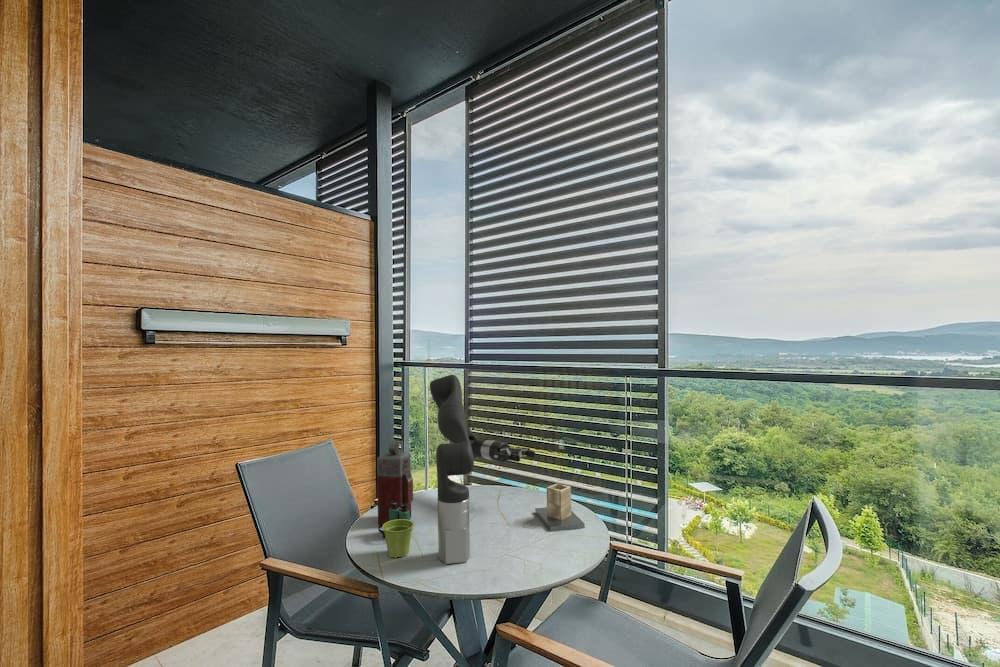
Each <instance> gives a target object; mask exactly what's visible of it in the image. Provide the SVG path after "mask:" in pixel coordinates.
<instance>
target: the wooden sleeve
mask: <svg viewBox="0 0 1000 667" xmlns="http://www.w3.org/2000/svg"><path fill="white" fill-rule="evenodd" d="M546 507H547V516H548V517H552V518H555V519H559V520H563V519H565V518H567V517H569V516H571V511H572V487H571V486H569V485H565V484H561V483H554V484H552V485H549V486H547V487H546Z"/></svg>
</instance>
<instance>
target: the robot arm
mask: <svg viewBox="0 0 1000 667" xmlns="http://www.w3.org/2000/svg"><path fill="white" fill-rule="evenodd" d="M429 390H430V394H431V398H432V399H433V402H434V403H435V405H436V407H437V408H438V411H437V425H438V429H439V431H440V433H441V434H442V435H443V437H445V438H446V439H447V440H449V441H450V442H451V443H439V444H438V446H437V447H436V452H435V460H436V463H435V464H436V475H437V476H436V477H437V533H438V534H437V536H438V537H437V538H438V539H437V542H438V543H437V544H438V546H437V547H438V550H437V552H438V560H439V561H441V562H443V563H444V564H445V565H450V564H460V563H467V562H468V560H469V559H470V556H471V547H470V546H471V543H470V542H471V541H470V540H471V539H470V538H471V536H470V530H471V529H470V492H469V491H470V490H469V488H468V487H467V486H466V485H465V484H462V483H458V482H455V481H454V480H452V479H450V478H449V476H451V477H452V476H464V475H468V474H470V473H472V472H473V469H474V466H475V465H474V464H475V459H476V458H480V459H486V460H489V461H494V462H498V463H506V462H516V463H517V462H521V458H523V457H525V458H526V457H528V458H532V459H533V458H536V456H537V455H536V451H535V450H531V448H530V447H524V446H523V447H522V446H517V447H513V446H512V447H511V446H510V445H509V444H508V443H507V442H504V441H498V440H493V439H492V440H491V439H490V440H489V439H482V438H479V439H478V437H477V436H476V435H475V434H474V433H473V431H471V428H470V427H469V425H468V422H467V419H466V413H465V409H464V405H463V395H462V393H463V392H462V391H463V390H462V385H461V382H460V380H459V378H458V377H457V376H456V375H454V374H449V375H446V376H443V377H442V376H441V377H439V378H436V379H433V380H431V381H430V382H429Z"/></svg>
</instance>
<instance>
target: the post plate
mask: <svg viewBox="0 0 1000 667" xmlns="http://www.w3.org/2000/svg"><path fill="white" fill-rule="evenodd" d="M534 510H535V514H536V515H537V517H538V516H539V518H538V519H539V520H541V522H542V523H543V524H544V525H545V527H546V528H547V530H549V532H556V531H557V532H558V531H568V530H569V531H570V530H577V529H585V527H586V526H585V522H584V521H582V520H581V518H580V517H579V516H578V515H577V514H576V513H574V511H573V510H571V516H569V517H567V518H565V519H563V520H559V519H555V518H552V517H548V516H547V506H546V507H537V508H534Z"/></svg>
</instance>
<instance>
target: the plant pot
mask: <svg viewBox="0 0 1000 667" xmlns="http://www.w3.org/2000/svg"><path fill="white" fill-rule="evenodd" d="M414 527H415V523H414V522H413V521H412V520H411V519H410V520H407V519H397V520H391V521H388V522H386V523H384V524H383V526H382V527H381V530H383V531H384V533H385V537H386V538H385V543H386V549H387V555H388V557H390V558H393V557H394V558H393V559H398V558H400V557H401V558H404V557H406V556H407V554H409V553H410V547H411V546H410V545H411V538H412V537H411V536H412V532H413V528H414ZM403 556H404V557H403ZM397 557H398V558H397Z"/></svg>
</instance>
